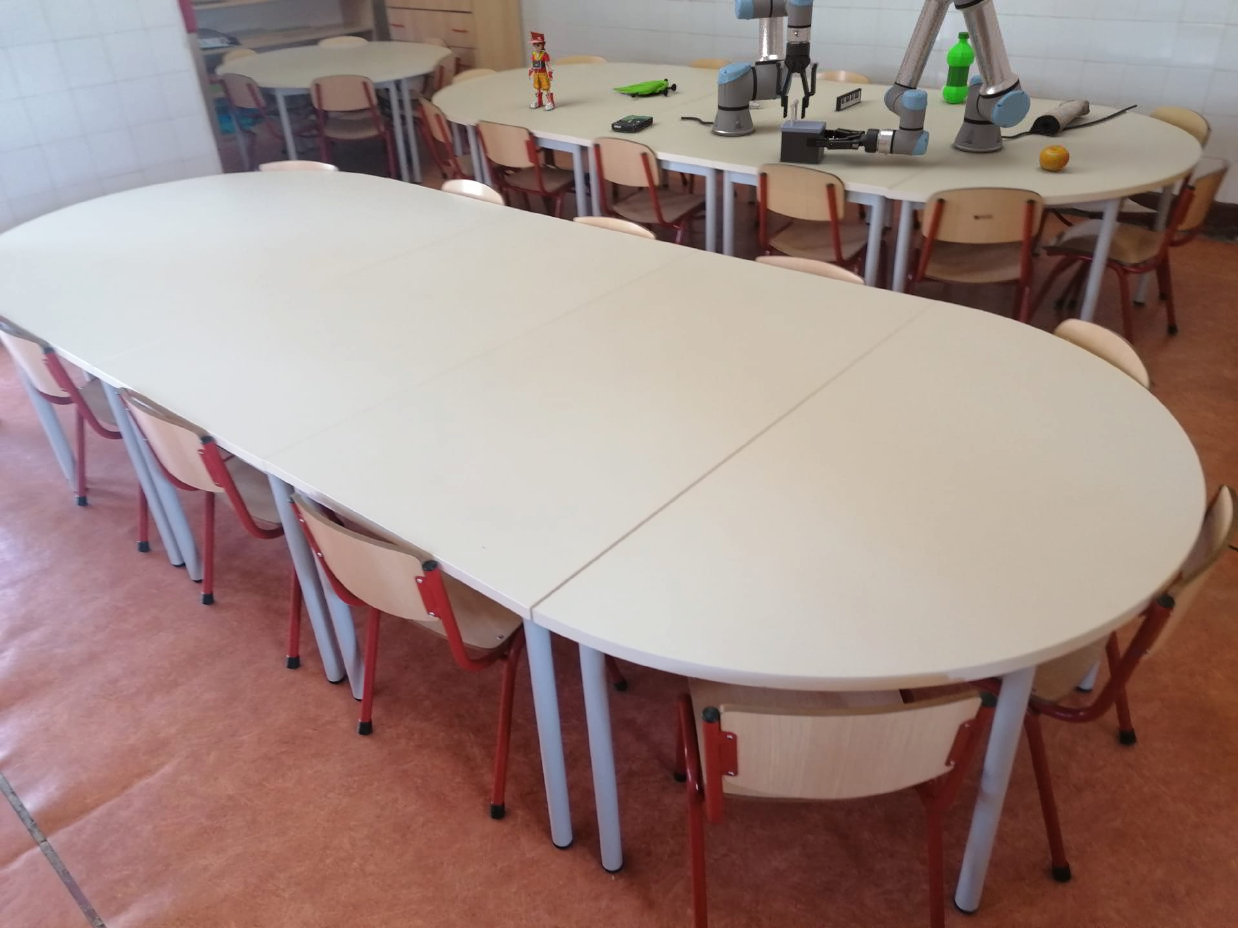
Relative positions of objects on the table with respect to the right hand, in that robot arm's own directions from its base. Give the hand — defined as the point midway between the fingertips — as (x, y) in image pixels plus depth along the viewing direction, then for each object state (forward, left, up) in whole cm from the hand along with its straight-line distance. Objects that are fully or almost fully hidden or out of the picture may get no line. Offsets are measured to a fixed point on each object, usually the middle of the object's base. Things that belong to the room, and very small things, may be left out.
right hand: (810, 137), depth 299 cm
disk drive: (+57, -56, -7) cm, 80 cm away
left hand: (+5, -2, +6) cm, 9 cm away
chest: (+2, -1, -7) cm, 7 cm away
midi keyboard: (-31, -66, -7) cm, 74 cm away
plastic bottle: (-72, -62, -7) cm, 95 cm away
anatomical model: (+9, -78, -7) cm, 79 cm away
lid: (+2, -1, +3) cm, 4 cm away
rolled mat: (-94, -19, -7) cm, 97 cm away
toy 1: (+92, -98, -7) cm, 135 cm away
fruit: (-70, +28, -7) cm, 76 cm away
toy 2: (+49, -115, -7) cm, 125 cm away
